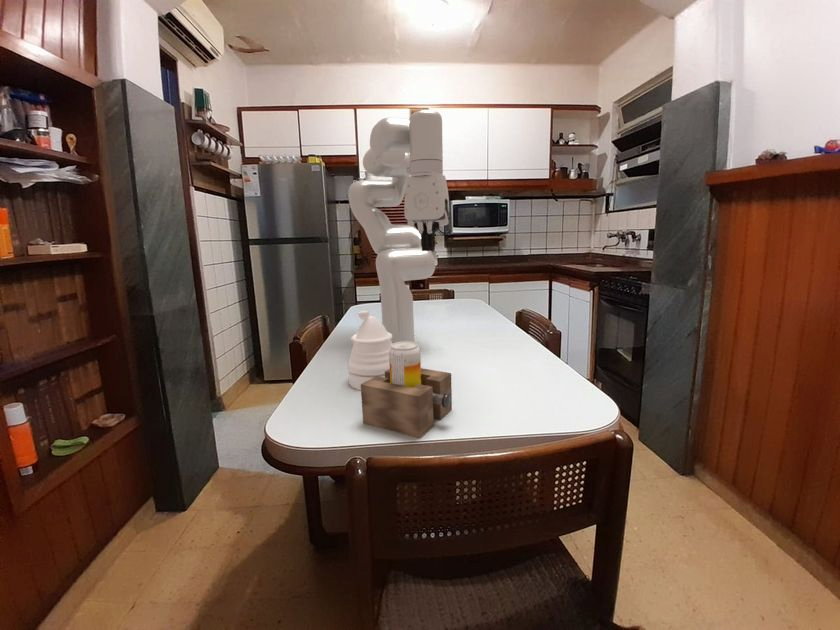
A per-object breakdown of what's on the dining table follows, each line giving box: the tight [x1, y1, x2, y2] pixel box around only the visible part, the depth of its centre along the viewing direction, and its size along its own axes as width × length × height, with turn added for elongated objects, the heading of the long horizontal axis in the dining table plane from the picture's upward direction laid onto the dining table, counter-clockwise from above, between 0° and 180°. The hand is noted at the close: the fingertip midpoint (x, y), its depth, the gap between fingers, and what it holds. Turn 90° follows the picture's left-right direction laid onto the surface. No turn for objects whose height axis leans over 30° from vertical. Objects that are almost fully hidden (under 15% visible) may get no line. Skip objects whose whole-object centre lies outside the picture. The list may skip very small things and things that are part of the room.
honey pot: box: [347, 310, 393, 391], centre depth 99 cm, size 13×13×18 cm
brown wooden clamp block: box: [360, 367, 453, 439], centre depth 80 cm, size 13×13×8 cm
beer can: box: [389, 341, 422, 388], centre depth 79 cm, size 6×6×15 cm
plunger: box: [433, 392, 453, 408], centre depth 77 cm, size 5×3×3 cm, turn 60°
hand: (428, 250), depth 97 cm, fingers closed
